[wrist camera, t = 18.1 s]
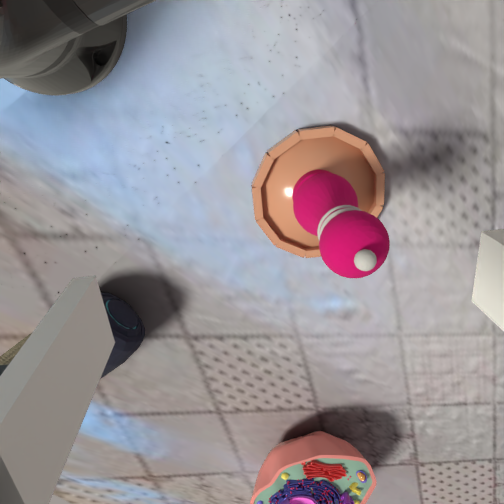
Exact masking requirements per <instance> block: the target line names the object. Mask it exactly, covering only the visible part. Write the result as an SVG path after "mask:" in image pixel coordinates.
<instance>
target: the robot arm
mask: <svg viewBox="0 0 504 504" xmlns="http://www.w3.org/2000/svg"><path fill="white" fill-rule="evenodd" d="M154 1H156V0H0V78H4V79H5V80H7V81H9V82H10V83H12V84H14V85H16V86H18V87H20V88H23V89H25V90H28V91H31V92H35V93H39V94H45V95H67V94H73V93H78V92H82V91H85V90H87V89H89V88H91V87H93V86H95V85H97V84H98V83H100V82H101V81H102V80H103V79H104V78H105V77H107V76H108V74H109V73H110V72H111V71H112V70H113V68H114V67H115V65H116V64H117V62H118V60H119V58H120V56H121V53H122V51H123V48H124V44H125V39H126V33H127V14H128V13H130V12H133V11H135V10H137V9H139V8H141V7H143V6H145V5H147V4H150V3H152V2H154ZM472 302H473V303H474V304H475V305H476V306H477V307H478V308H480V309H481V310H482V311H483V312H484V313H485V314H486V315H487V316H488V317H489V318H490V319H491V320H492V321H493V322H494V323H495V324H496V325H498V326H499V327H500V328H501V329H502V330H503V331H504V229H498V230H490V231H482V232H481V239H480V246H479V253H478V260H477V267H476V274H475V281H474V288H473V295H472ZM114 344H115V340H114V337H113V334H112V330H111V327H110V323H109V320H108V316H107V313H106V309H105V306H104V303H103V299H102V296H101V292H100V289H99V285H98V282H97V279H96V276H88V277H79V278H73V279H72V280H71V281H70V283H69V284H68V286H67V287H66V288H65V290H64V291H63V292H62V294H61V295H60V296H59V298H58V299H57V300H56V302H55V303H54V304H53V306H52V307H51V308H50V310H49V311H48V312H47V314H46V315H45V316H44V318H43V319H42V321H41V322H40V323H39V325H38V326H37V327H36V329H35V330H34V331H33V333H32V334H31V335H30V337H29V338H28V339H27V341H26V342H25V343H24V345H23V346H22V347H21V349H20V350H19V351H18V353H17V354H16V356H15V357H14V358H13V360H12V361H11V362H10V364H6V365H0V504H49V502H50V499H51V497H52V495H53V492H54V490H55V487H56V485H57V482H58V480H59V478H60V475H61V473H62V470H63V468H64V465H65V463H66V461H67V458H68V456H69V453H70V451H71V448H72V446H73V444H74V441H75V439H76V436H77V434H78V431H79V429H80V427H81V424H82V422H83V419H84V417H85V414H86V412H87V410H88V407H89V405H90V402H91V400H92V397H93V395H94V393H95V390H96V388H97V385H98V383H99V380H100V378H101V376H102V373H103V371H104V368H105V366H106V363H107V361H108V359H109V356H110V354H111V351H112V349H113V346H114Z"/></svg>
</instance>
